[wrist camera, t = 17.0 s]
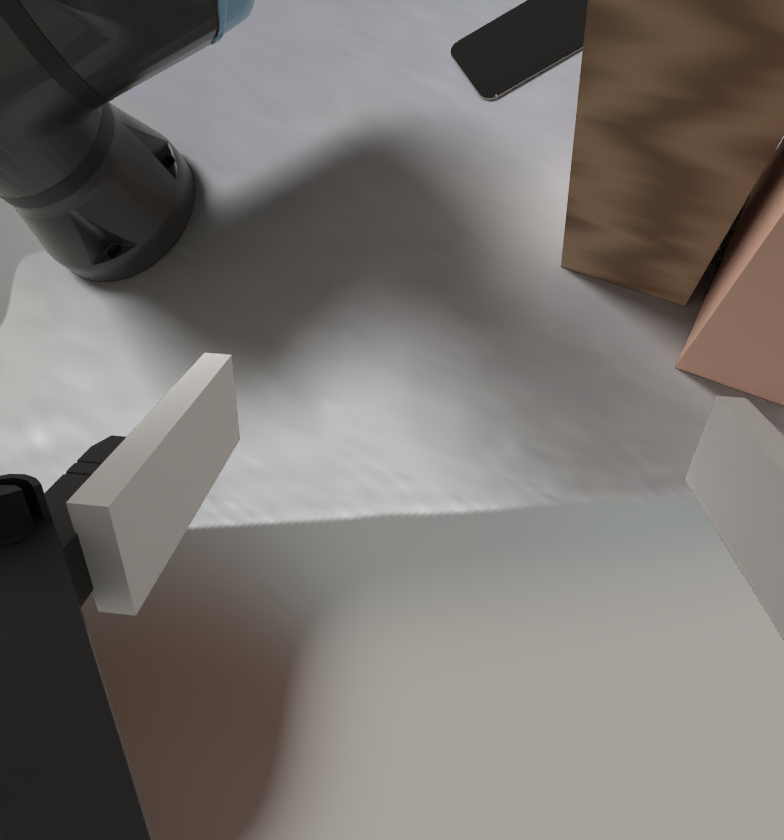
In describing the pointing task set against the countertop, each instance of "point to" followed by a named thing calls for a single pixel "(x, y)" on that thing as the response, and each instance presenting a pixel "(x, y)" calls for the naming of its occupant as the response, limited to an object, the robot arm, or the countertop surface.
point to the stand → (670, 135)
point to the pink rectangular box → (747, 300)
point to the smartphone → (520, 45)
